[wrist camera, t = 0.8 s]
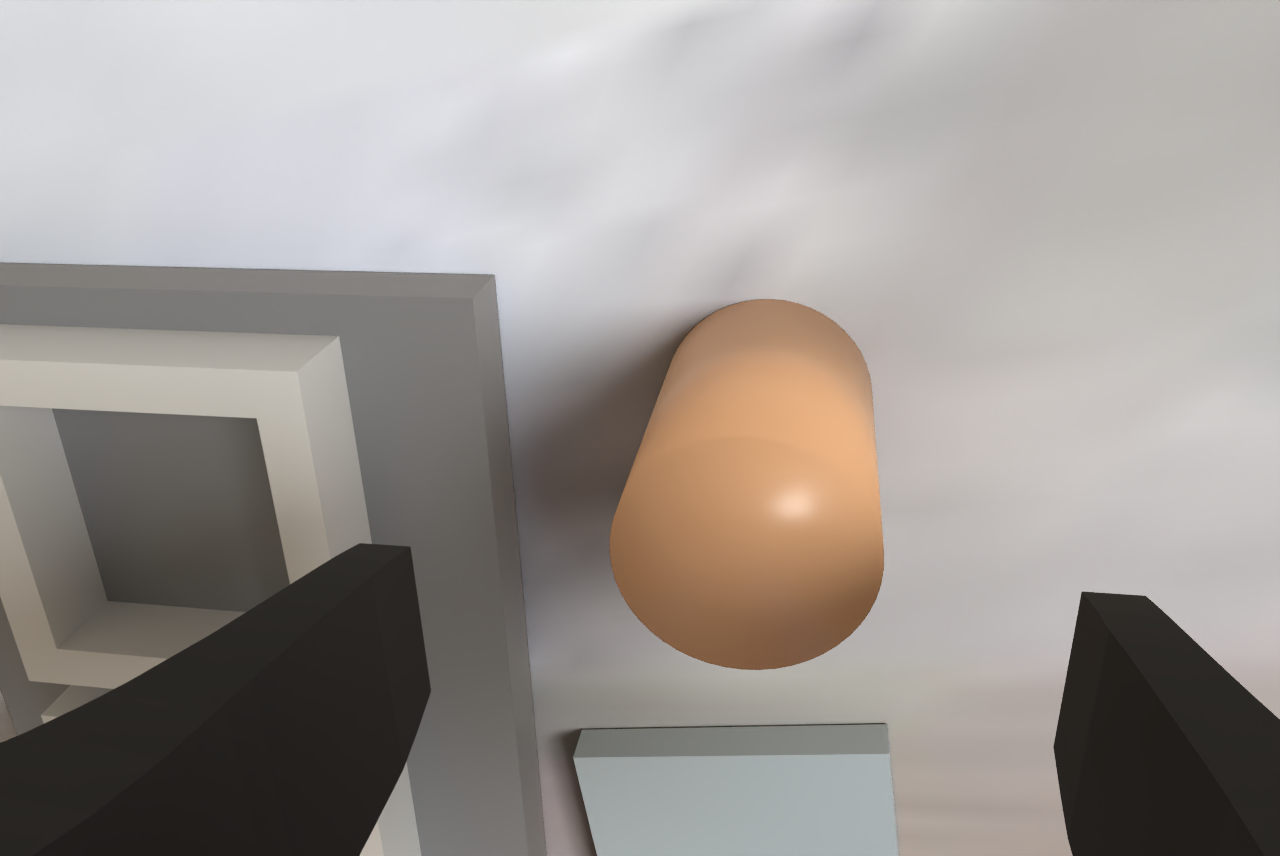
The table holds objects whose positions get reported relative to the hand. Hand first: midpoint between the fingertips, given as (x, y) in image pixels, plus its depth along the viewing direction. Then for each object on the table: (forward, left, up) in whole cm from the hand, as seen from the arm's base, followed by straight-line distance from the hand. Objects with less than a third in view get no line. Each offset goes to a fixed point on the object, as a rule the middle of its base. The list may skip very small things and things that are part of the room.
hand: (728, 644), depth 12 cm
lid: (-11, 0, -7) cm, 13 cm away
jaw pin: (0, 0, -7) cm, 7 cm away
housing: (-6, +10, -7) cm, 13 cm away
